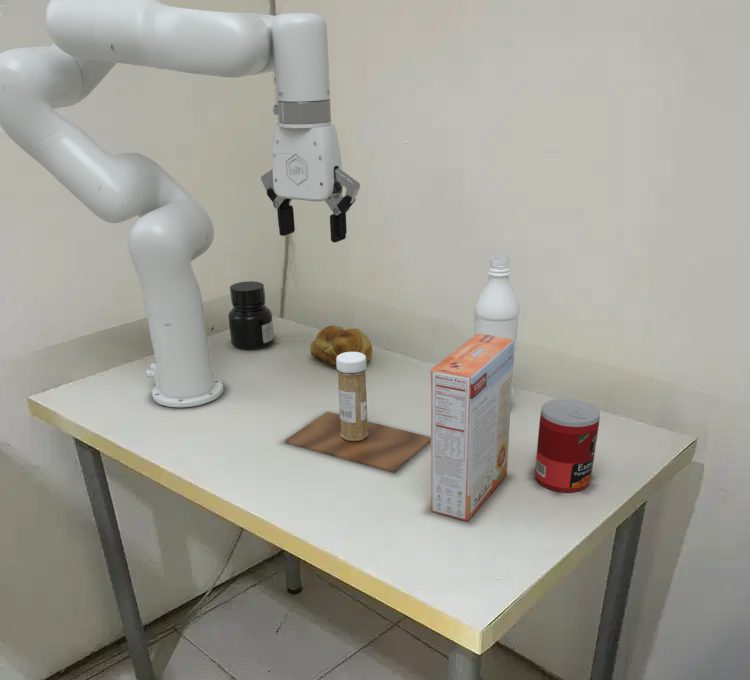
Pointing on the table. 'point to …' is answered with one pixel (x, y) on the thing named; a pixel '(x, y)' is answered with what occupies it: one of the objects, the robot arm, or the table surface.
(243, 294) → the ink bottle
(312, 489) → the table surface
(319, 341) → the bread roll
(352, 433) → the spice jar
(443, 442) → the cracker box
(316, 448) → the wooden board
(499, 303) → the water bottle
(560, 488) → the canned food
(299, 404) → the table surface
